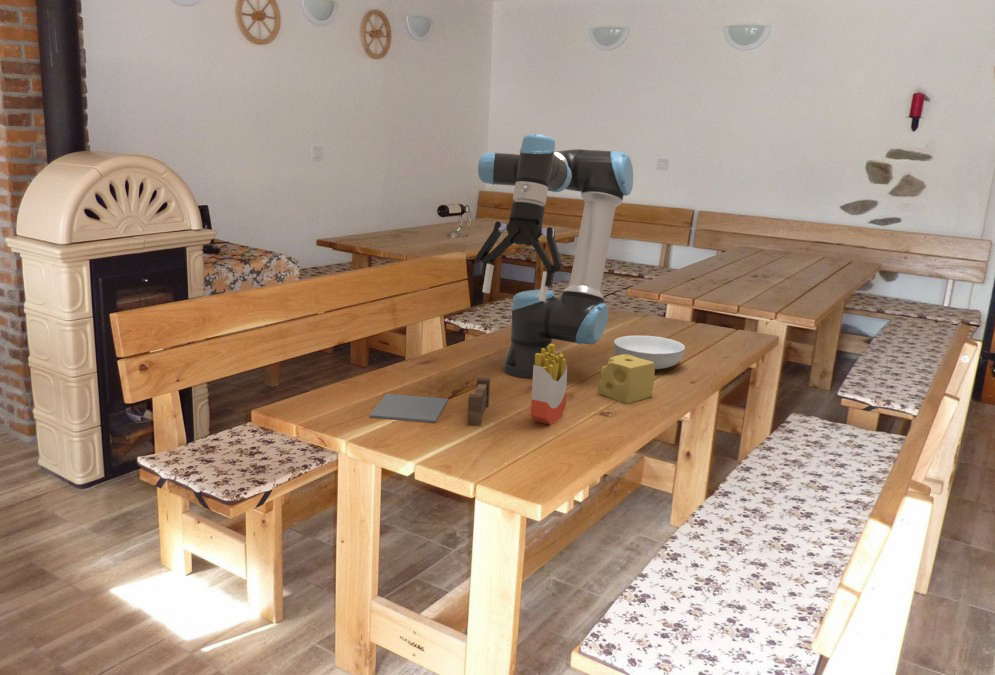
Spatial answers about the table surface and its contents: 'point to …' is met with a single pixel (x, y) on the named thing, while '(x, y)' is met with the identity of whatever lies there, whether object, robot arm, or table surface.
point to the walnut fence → (478, 401)
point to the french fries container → (548, 386)
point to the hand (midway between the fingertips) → (513, 297)
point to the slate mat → (409, 408)
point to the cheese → (627, 378)
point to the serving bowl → (651, 349)
